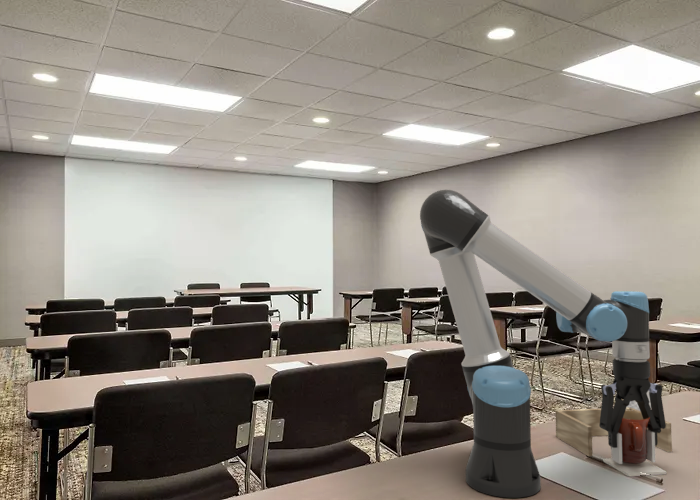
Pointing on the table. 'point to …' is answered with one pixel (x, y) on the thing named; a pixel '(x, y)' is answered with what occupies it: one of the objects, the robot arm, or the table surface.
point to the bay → (594, 429)
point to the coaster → (635, 468)
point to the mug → (634, 437)
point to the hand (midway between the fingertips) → (633, 460)
